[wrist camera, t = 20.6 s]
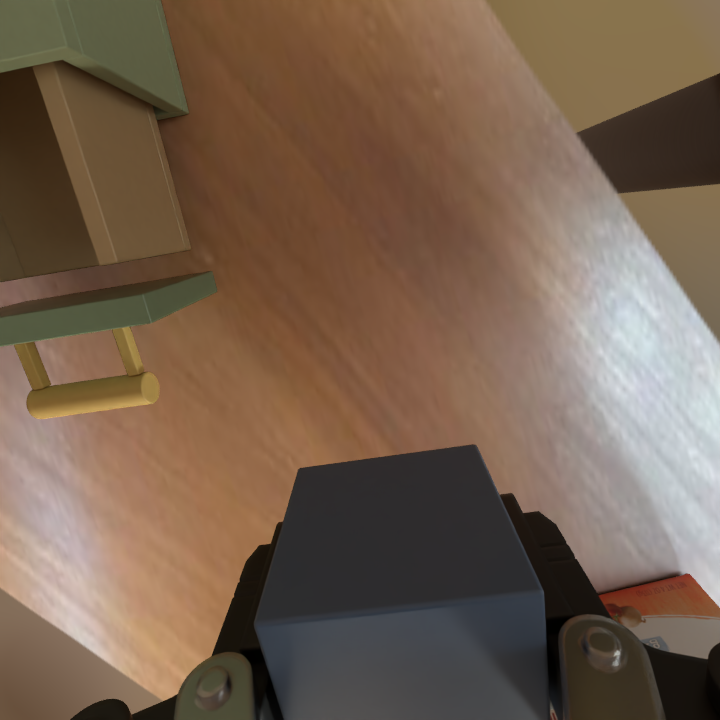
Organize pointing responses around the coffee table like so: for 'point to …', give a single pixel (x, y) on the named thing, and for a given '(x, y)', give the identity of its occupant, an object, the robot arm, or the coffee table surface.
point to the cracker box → (667, 616)
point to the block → (403, 596)
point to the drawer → (85, 225)
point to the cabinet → (97, 44)
